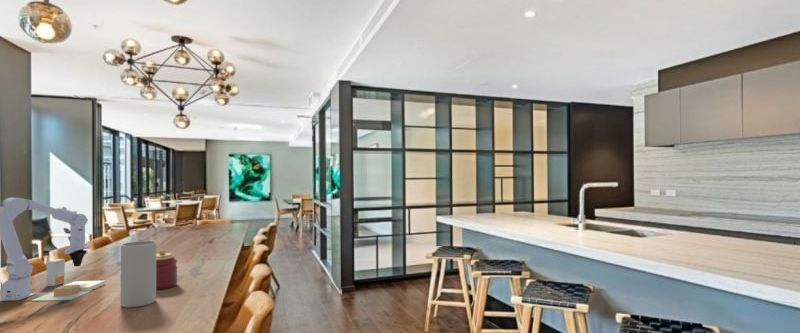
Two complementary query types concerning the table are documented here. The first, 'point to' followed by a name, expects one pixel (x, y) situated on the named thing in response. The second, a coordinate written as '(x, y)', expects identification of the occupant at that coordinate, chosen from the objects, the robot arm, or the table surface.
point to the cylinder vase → (138, 273)
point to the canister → (166, 270)
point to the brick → (66, 290)
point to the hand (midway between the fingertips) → (77, 266)
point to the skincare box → (55, 272)
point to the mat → (56, 298)
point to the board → (88, 285)
